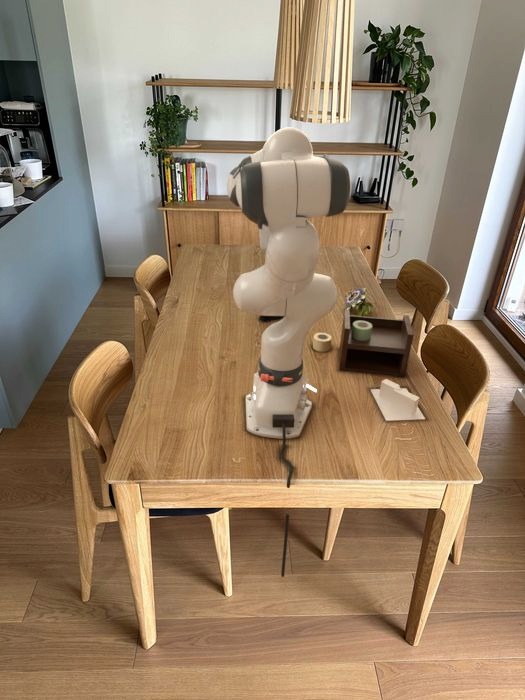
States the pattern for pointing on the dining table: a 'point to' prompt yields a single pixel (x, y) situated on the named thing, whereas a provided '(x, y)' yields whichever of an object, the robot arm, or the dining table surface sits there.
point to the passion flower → (358, 301)
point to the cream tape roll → (322, 342)
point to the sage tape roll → (361, 330)
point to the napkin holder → (396, 402)
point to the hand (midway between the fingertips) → (270, 255)
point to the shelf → (376, 346)
